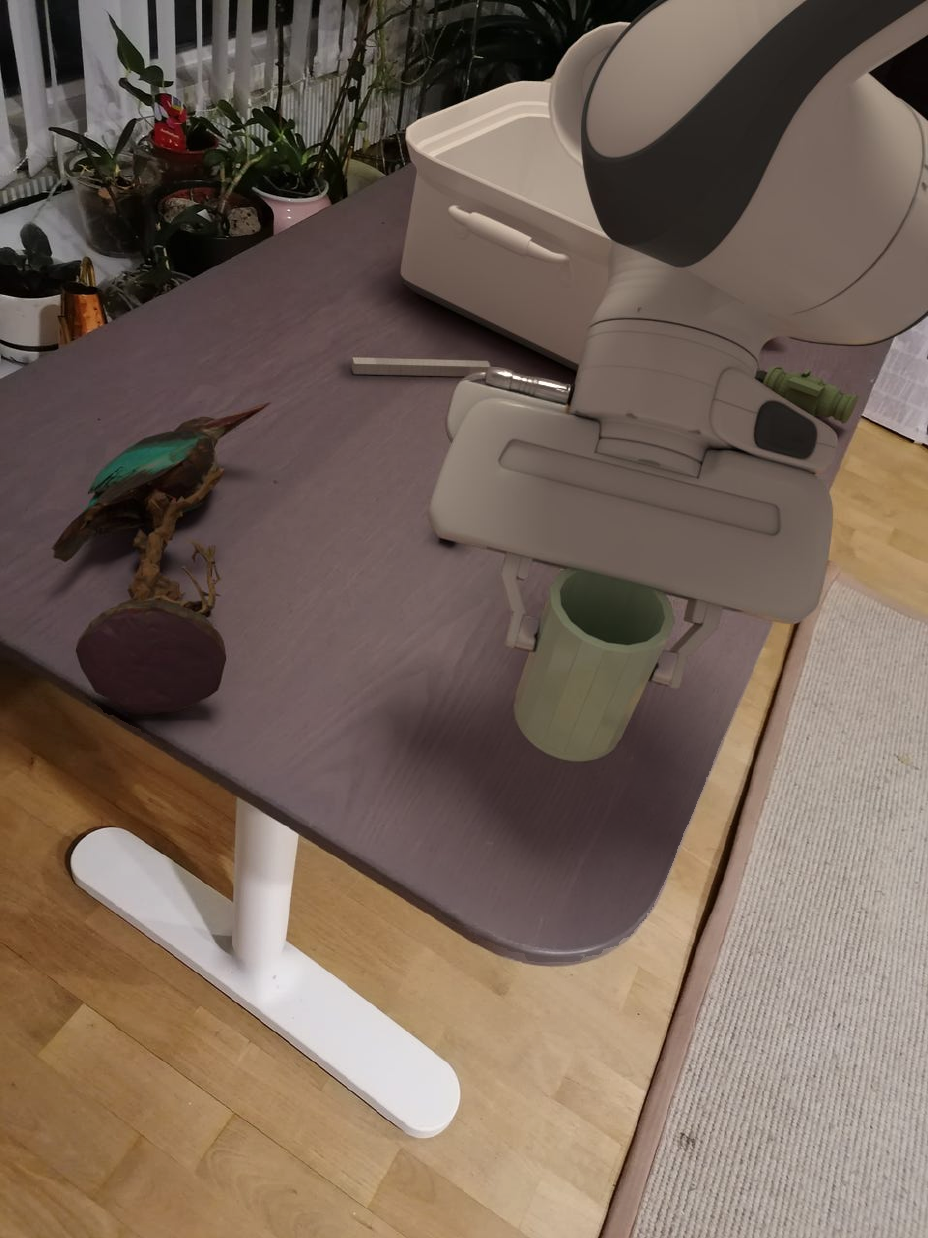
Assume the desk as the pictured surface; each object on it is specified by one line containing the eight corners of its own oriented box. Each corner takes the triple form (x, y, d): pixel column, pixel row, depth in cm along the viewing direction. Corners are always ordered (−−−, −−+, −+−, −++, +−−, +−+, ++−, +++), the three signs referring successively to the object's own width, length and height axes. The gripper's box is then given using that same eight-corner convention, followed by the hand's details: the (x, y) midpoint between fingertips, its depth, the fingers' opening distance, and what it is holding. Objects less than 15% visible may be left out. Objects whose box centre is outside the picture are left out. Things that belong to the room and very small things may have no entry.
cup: (654, 163, 99) (662, 190, 89) (538, 134, 98) (533, 158, 88) (694, 28, 92) (708, 41, 82) (570, -4, 92) (569, 5, 81)
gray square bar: (352, 357, 87) (351, 367, 88) (354, 363, 86) (353, 373, 87) (487, 360, 90) (486, 370, 91) (491, 366, 90) (489, 376, 90)
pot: (603, 429, 88) (655, 275, 77) (344, 299, 95) (359, 141, 84) (737, 298, 110) (791, 164, 99) (518, 201, 117) (547, 67, 107)
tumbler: (616, 679, 58) (665, 568, 51) (628, 767, 53) (682, 658, 47) (512, 667, 57) (547, 553, 50) (515, 755, 53) (554, 643, 46)
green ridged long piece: (854, 420, 95) (836, 437, 92) (683, 358, 103) (661, 371, 100) (868, 383, 93) (850, 399, 90) (692, 322, 101) (670, 334, 97)
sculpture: (265, 579, 53) (261, 360, 71) (9, 641, 53) (71, 406, 71) (308, 683, 59) (294, 455, 77) (76, 738, 58) (117, 497, 77)
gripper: (460, 340, 48) (390, 618, 48) (871, 443, 48) (800, 721, 48) (461, 372, 54) (400, 617, 54) (825, 463, 54) (762, 708, 54)
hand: (590, 667), depth 51 cm, fingers closed on tumbler, 6 cm apart
